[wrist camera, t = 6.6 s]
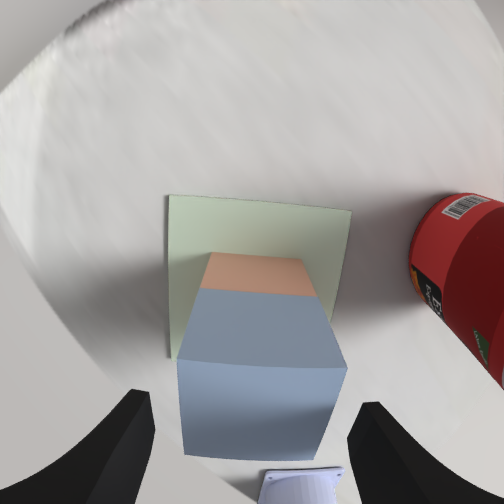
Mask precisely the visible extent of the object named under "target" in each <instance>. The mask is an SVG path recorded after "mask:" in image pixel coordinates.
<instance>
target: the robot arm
mask: <svg viewBox="0 0 504 504" xmlns="http://www.w3.org/2000/svg"><path fill="white" fill-rule="evenodd" d="M154 434H155V425H154V419H153V413H152V407H151V401H150V395H149V392H146V391H141V390H135V389H131V390H130V391H129V392H128V393H127V394H126V395H125V396H124V397H123V399H122V400H121V401H120V402H119V403H118V404H117V405H116V406H115V408H114V409H113V410H112V411H111V412H110V413H109V414H108V415H107V416H106V417H105V418H104V419H103V420H102V421H101V422H100V423H99V424H98V425H97V426H96V427H95V428H94V429H93V430H92V431H91V432H90V433H89V434H88V435H87V436H86V437H85V438H83V439H82V440H81V441H80V442H79V443H78V444H77V445H76V446H74V447H73V448H72V449H71V450H69V451H68V452H67V453H66V454H64V455H63V456H62V457H60V458H59V459H58V460H56V461H55V462H53V463H52V464H50V465H49V466H47V467H45V468H44V469H42V470H41V471H39V472H37V473H36V474H34V475H32V476H30V477H28V478H27V479H24V480H22V481H20V482H18V483H16V484H13V485H11V486H9V487H7V488H4V489H1V490H0V504H135V501H136V498H137V495H138V492H139V488H140V485H141V482H142V479H143V476H144V473H145V470H146V467H147V464H148V460H149V457H150V454H151V450H152V445H153V439H154ZM347 443H348V450H349V457H350V463H351V466H352V470H353V473H354V477H355V480H356V484H357V487H358V491H359V494H360V498H361V501H362V504H504V498H502V497H499V496H497V495H494V494H492V493H489V492H487V491H485V490H483V489H481V488H479V487H477V486H475V485H473V484H472V483H470V482H468V481H466V480H464V479H463V478H461V477H460V476H458V475H457V474H455V473H454V472H453V471H451V470H450V469H448V468H447V467H446V466H444V465H443V464H442V463H440V462H439V461H438V460H437V459H436V458H434V457H433V456H432V455H431V454H430V453H429V452H428V451H426V450H425V449H424V448H423V447H422V446H421V445H420V444H419V443H418V442H417V441H416V440H415V439H414V438H413V437H412V436H411V435H410V434H409V433H408V432H407V431H406V430H405V429H404V428H403V427H402V426H401V425H400V424H399V423H398V422H397V421H396V419H395V418H394V417H393V416H392V415H391V414H390V413H389V412H388V411H387V410H386V409H385V408H384V407H383V406H382V405H381V404H380V402H379V401H378V402H365V403H363V404H362V406H361V408H360V411H359V413H358V415H357V418H356V420H355V422H354V424H353V426H352V428H351V431H350V433H349V435H348V437H347ZM344 472H345V469H344V468H330V469H315V470H288V471H267V472H266V473H265V477H264V480H263V484H262V488H261V491H260V495H259V499H258V502H257V504H337V500H336V495H335V490H334V489H335V487H336V485H337V484H338V482H339V481H340V479H341V477H342V476H343V474H344Z"/></svg>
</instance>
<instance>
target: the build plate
mask: <svg viewBox="0 0 504 504" xmlns="http://www.w3.org/2000/svg"><path fill="white" fill-rule="evenodd" d="M351 215H352V211H349V210H340V209H332V208H323V207H315V206H305V205H296V204H286V203H276V202H265V201H254V200H242V199H230V198H217V197H203V196H187V195H169V221H168V294H169V326H170V347H171V361H176V362H177V356H178V353H179V350H180V346H181V343H182V340H183V337H184V334H185V331H186V327H187V324H188V321H189V318H190V315H191V312H192V309H193V306H194V303H195V300H196V297H197V294H198V291H199V288H200V286H201V283H202V280H203V277H204V274H205V271H206V268H207V265H208V262H209V259H210V256H211V253H212V252H219V253H231V254H244V255H256V256H268V257H280V258H292V259H301V260H302V262H303V264H304V267H305V269H306V271H307V274H308V276H309V278H310V281H311V283H312V285H313V288H314V290H315V292H316V295H317V297H319V300H320V302H321V304H322V307H323V309H324V311H325V314H326V316H327V319H328V321H329V323H330V322H331V318H332V313H333V309H334V304H335V300H336V295H337V291H338V286H339V281H340V276H341V271H342V266H343V261H344V256H345V250H346V245H347V239H348V233H349V227H350V221H351Z"/></svg>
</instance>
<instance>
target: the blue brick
mask: <svg viewBox="0 0 504 504" xmlns="http://www.w3.org/2000/svg"><path fill="white" fill-rule="evenodd" d="M347 369H348V368H347V365H346V362H345V360H344V358H343V355H342V353H341V350H340V348H339V345H338V343H337V340H336V338H335V335H334V333H333V331H332V328H331V326H330V323H329V321H328V319H327V316H326V314H325V311H324V309H323V307H322V304H321V302H320V300H319V297H314V296H298V295H282V294H268V293H254V292H241V291H229V290H217V289H206V288H199V291H198V294H197V297H196V300H195V303H194V306H193V309H192V312H191V315H190V318H189V321H188V324H187V327H186V331H185V334H184V337H183V340H182V343H181V346H180V350H179V353H178V356H177V374H178V390H179V403H180V415H181V426H182V436H183V446H184V454H185V455H192V456H201V457H210V458H222V459H236V460H258V461H300V460H313V459H314V457H315V454H316V452H317V450H318V447H319V445H320V442H321V440H322V438H323V435H324V433H325V430H326V427H327V425H328V422H329V420H330V417H331V414H332V412H333V409H334V406H335V404H336V401H337V398H338V395H339V392H340V390H341V387H342V384H343V381H344V378H345V375H346V372H347Z"/></svg>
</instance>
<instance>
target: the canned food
mask: <svg viewBox="0 0 504 504" xmlns="http://www.w3.org/2000/svg"><path fill="white" fill-rule="evenodd" d="M409 270H410V275H411V278H412V281H413V284H414V286H415V289H416V291H417V293H418V294H419V296H420V297H421V298H422V299H423V300H424V302H425V303H426V304H427V305H428V306H429V307H430V308H431V309H432V310H433V311H434V312H435V313H436V314H437V315H438V316H439V317H440V318H441V319H442V320H443V322H444V323H445V324H446V325H447V326H448V327H449V328H450V329H451V330H452V331H453V332H454V334H455V335H456V336H457V337H458V338H459V339H460V340H461V341H462V342H463V344H464V345H465V346H466V347H467V348H468V349H469V350H470V352H471V353H472V354H473V355H474V356H475V357H476V358H477V360H478V361H479V362H480V363H481V364H482V365H483V367H484V368H485V369H486V370H487V371H488V373H489V374H490V375H491V376H492V377H493V379H494V380H496V381H497V383H498V384H499V385H500V386H501V388H502V389H503V390H504V203H503V202H500V201H496V200H493V199H490V198H487V197H484V196H481V195H477V194H474V193H461V194H456V195H451V196H448V197H446V198H444V199H442V200H440V201H439V202H438V203H436V204H435V205H434V206H433V207H432V208H431V209H430V210H429V211H428V212H427V213H426V214H425V216H424V217H423V219H422V220H421V222H420V223H419V225H418V227H417V229H416V231H415V233H414V236H413V239H412V242H411V246H410V252H409Z"/></svg>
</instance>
